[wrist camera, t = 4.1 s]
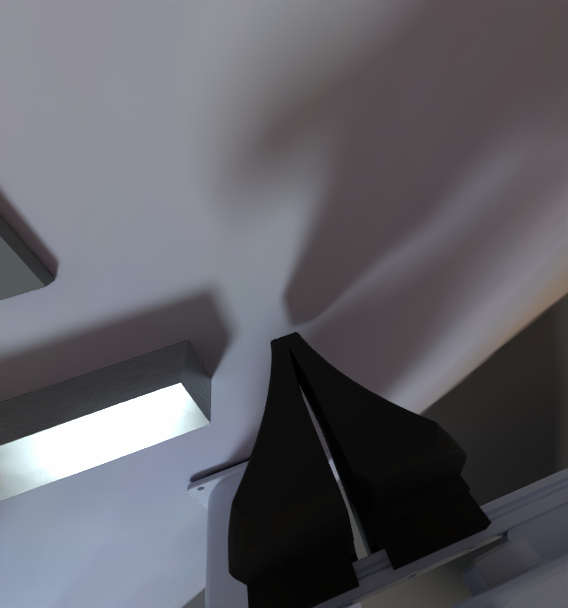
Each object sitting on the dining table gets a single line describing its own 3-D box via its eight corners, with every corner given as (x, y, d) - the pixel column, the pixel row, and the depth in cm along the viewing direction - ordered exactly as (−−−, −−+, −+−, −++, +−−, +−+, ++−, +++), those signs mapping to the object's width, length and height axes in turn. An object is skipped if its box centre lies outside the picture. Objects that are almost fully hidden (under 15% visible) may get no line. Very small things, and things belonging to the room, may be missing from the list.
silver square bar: (188, 336, 12) (180, 382, 9) (211, 375, 13) (210, 423, 11) (-23, 406, 11) (-94, 478, 8) (29, 439, 13) (-17, 507, 10)
